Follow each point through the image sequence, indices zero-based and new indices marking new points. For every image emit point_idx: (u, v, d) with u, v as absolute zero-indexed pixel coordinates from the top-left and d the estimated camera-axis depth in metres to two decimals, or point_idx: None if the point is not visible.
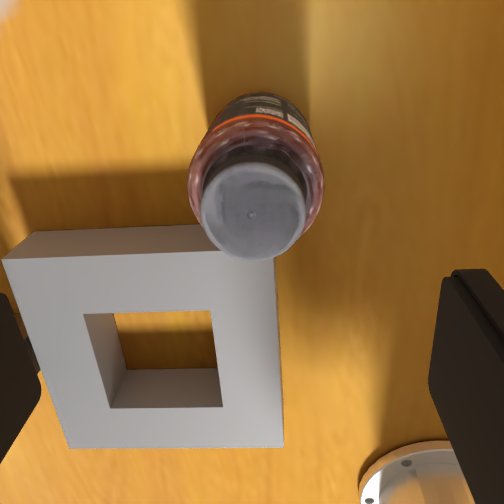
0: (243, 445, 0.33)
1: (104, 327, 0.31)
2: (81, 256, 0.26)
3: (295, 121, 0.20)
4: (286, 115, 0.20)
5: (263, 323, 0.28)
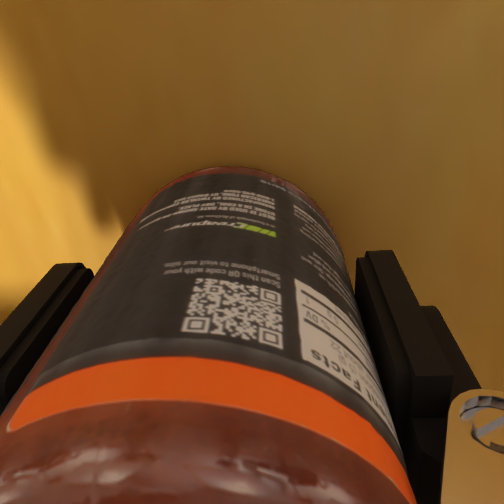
0: None
1: None
2: None
3: (322, 323, 0.06)
4: (292, 301, 0.06)
5: None
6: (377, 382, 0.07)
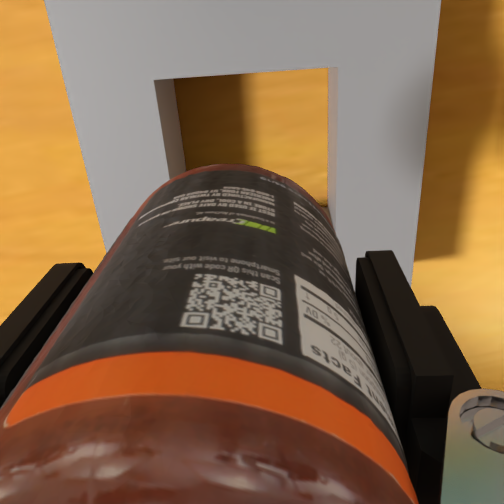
0: None
1: None
2: (431, 82, 0.19)
3: (322, 319, 0.06)
4: (292, 297, 0.06)
5: None
6: (377, 379, 0.07)
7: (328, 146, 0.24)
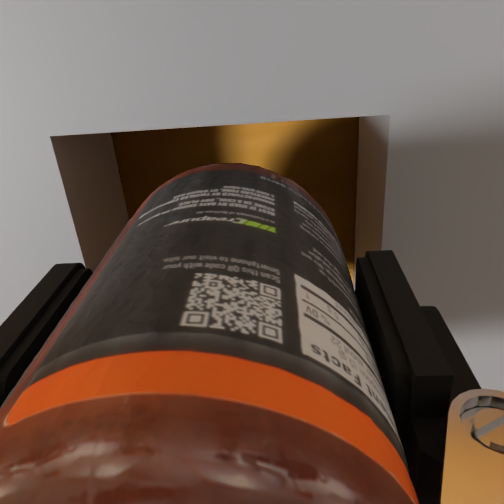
0: None
1: None
2: None
3: (322, 318, 0.06)
4: (292, 296, 0.06)
5: None
6: (378, 378, 0.07)
7: (356, 224, 0.16)
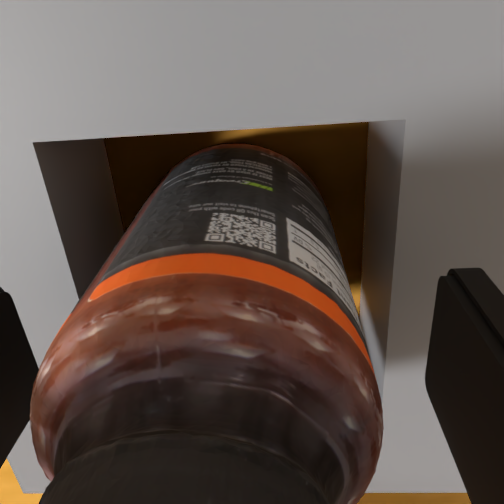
0: None
1: None
2: None
3: (306, 245, 0.08)
4: (284, 229, 0.09)
5: None
6: (348, 292, 0.09)
7: (364, 233, 0.15)
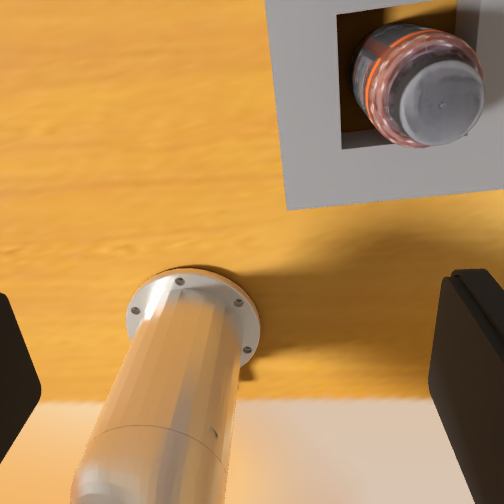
0: (286, 171, 0.31)
1: None
2: None
3: None
4: None
5: (446, 183, 0.31)
6: None
7: None
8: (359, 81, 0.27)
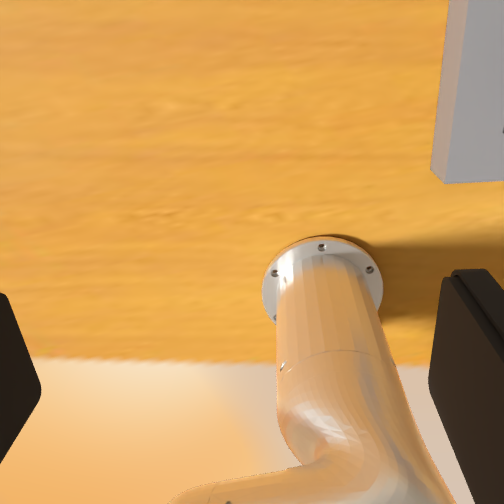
0: (451, 149, 0.37)
1: None
2: None
3: None
4: None
5: None
6: None
7: None
8: None
